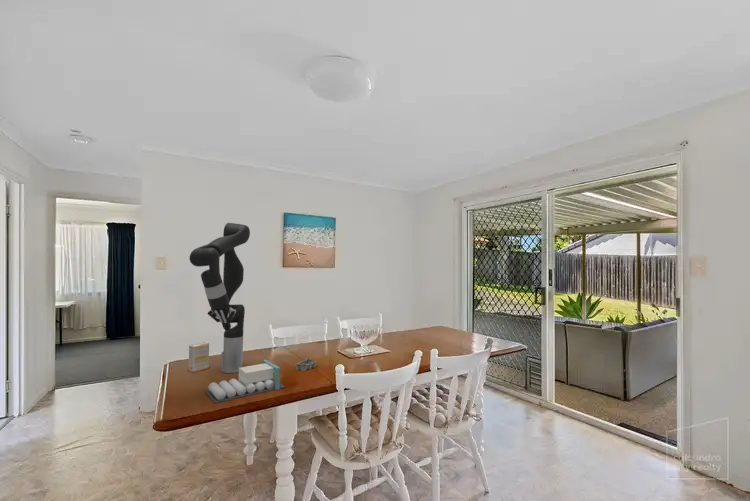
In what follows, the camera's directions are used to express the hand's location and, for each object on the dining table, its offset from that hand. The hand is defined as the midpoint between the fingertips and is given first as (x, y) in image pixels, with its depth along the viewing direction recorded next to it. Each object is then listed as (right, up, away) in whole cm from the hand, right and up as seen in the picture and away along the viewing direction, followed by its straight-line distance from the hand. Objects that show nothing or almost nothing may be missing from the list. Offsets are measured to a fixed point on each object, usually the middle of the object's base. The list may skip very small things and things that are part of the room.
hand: (227, 329), depth 148 cm
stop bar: (+16, -27, +7) cm, 32 cm away
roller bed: (+8, -26, 0) cm, 27 cm away
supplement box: (-26, -27, +26) cm, 46 cm away
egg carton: (+27, -28, +34) cm, 52 cm away
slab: (+11, -22, +3) cm, 25 cm away
